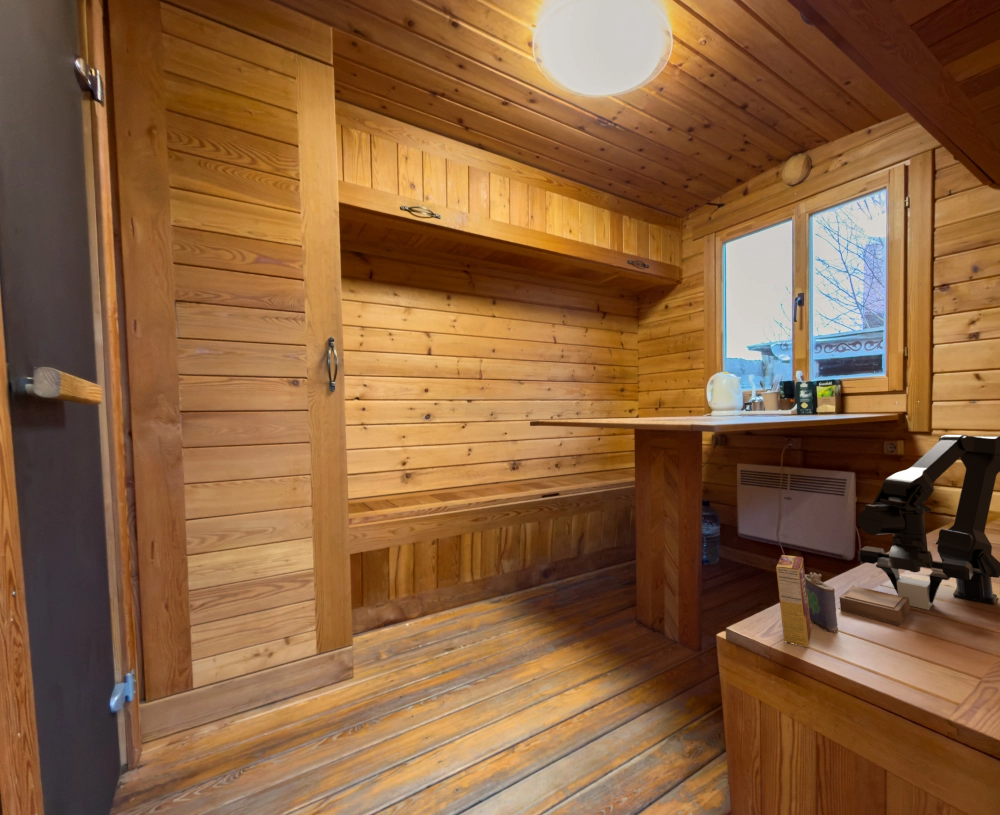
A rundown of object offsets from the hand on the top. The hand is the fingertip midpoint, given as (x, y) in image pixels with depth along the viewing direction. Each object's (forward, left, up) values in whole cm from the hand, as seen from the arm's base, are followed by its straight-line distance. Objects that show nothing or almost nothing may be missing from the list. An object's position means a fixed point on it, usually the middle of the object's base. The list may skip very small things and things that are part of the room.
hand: (915, 598), depth 98 cm
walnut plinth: (+11, -5, -1) cm, 12 cm away
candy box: (+36, -12, -1) cm, 38 cm away
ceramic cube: (0, 0, -1) cm, 1 cm away
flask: (+26, -11, -1) cm, 28 cm away
